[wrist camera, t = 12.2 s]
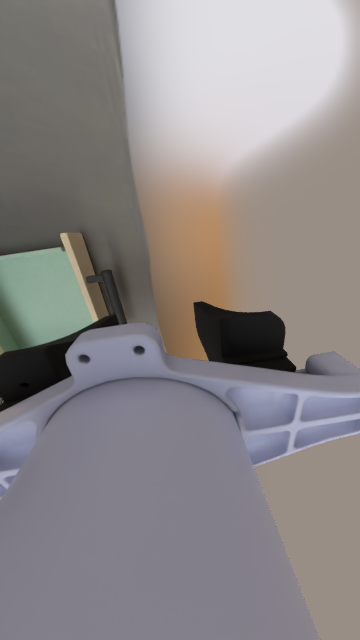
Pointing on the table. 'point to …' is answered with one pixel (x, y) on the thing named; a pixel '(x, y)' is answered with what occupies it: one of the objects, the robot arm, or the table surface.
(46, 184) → the table surface
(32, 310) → the wooden drawer
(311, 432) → the robot arm
